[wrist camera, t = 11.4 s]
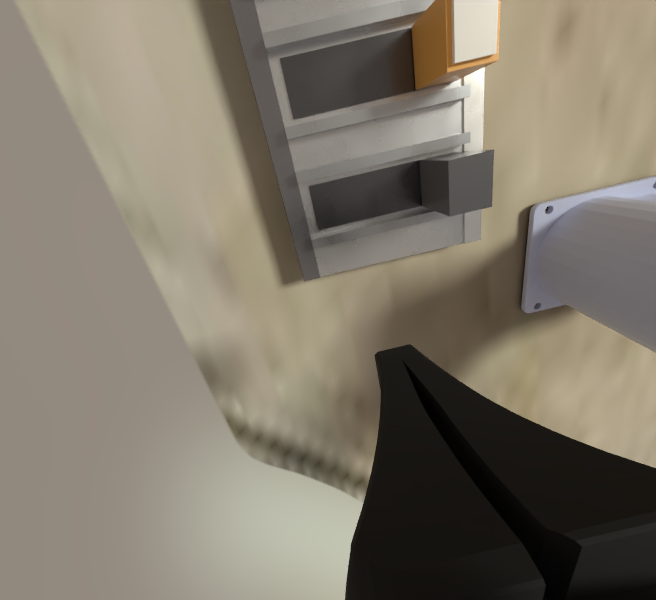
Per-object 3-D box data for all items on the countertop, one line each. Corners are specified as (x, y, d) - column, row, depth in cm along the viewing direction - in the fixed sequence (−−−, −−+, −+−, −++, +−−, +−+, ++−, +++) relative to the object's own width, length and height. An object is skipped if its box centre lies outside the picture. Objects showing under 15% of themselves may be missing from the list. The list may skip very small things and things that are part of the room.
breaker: (456, 151, 16) (493, 149, 13) (457, 198, 17) (491, 206, 14) (419, 160, 16) (448, 160, 13) (422, 206, 17) (449, 216, 14)
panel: (466, -260, 11) (503, -350, 9) (467, 233, 19) (486, 242, 17) (181, -193, 11) (156, -268, 9) (303, 272, 19) (304, 284, 17)
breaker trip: (455, 16, 13) (505, -29, 10) (456, 80, 14) (501, 58, 11) (411, 26, 13) (447, -15, 10) (415, 90, 14) (449, 70, 11)
